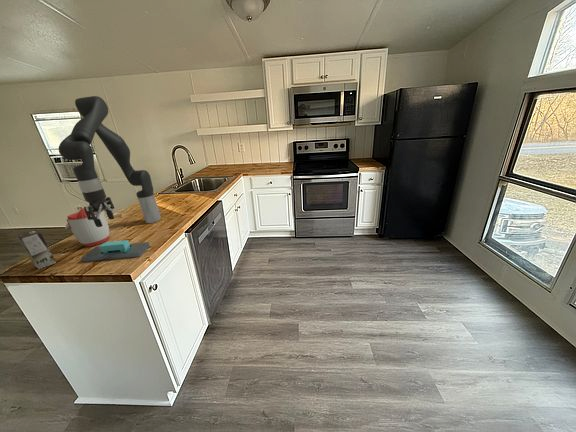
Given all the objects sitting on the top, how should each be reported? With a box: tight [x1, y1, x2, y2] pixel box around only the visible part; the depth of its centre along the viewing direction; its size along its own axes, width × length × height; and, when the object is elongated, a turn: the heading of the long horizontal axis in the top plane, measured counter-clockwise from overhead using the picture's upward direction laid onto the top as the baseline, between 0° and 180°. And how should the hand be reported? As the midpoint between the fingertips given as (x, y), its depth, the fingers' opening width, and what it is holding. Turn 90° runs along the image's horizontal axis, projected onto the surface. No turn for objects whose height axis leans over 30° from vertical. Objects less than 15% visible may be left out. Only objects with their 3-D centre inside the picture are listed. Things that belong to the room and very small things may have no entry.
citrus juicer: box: [64, 207, 110, 248], centre depth 124 cm, size 16×17×20 cm
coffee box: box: [16, 229, 57, 270], centre depth 106 cm, size 9×6×16 cm
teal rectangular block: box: [99, 239, 131, 253], centre depth 113 cm, size 4×11×6 cm, turn 95°
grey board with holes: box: [80, 241, 151, 263], centre depth 113 cm, size 10×26×2 cm, turn 94°
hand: (106, 222), depth 107 cm, fingers open, 8 cm apart
